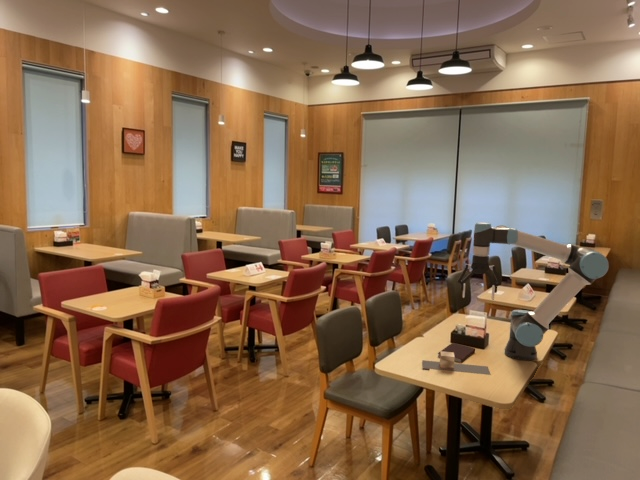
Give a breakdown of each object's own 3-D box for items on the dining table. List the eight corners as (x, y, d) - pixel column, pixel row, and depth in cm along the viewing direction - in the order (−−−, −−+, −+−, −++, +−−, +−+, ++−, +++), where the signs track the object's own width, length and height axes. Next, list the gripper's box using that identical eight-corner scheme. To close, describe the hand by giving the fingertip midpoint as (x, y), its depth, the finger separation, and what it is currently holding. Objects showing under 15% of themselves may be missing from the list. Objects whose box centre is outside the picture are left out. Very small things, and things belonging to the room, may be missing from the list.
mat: (487, 367, 224) (487, 366, 224) (490, 375, 214) (490, 374, 214) (422, 361, 230) (422, 360, 230) (422, 369, 220) (422, 368, 220)
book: (475, 353, 243) (475, 347, 243) (461, 364, 228) (461, 358, 228) (451, 348, 251) (452, 342, 251) (436, 358, 236) (437, 352, 235)
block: (440, 351, 226) (439, 363, 226) (441, 355, 220) (440, 368, 220) (453, 352, 224) (452, 364, 225) (454, 356, 219) (453, 369, 219)
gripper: (506, 255, 230) (503, 298, 232) (453, 252, 234) (450, 294, 237) (509, 257, 222) (506, 301, 225) (454, 254, 227) (452, 298, 230)
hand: (478, 298), depth 231 cm, fingers open, 13 cm apart
